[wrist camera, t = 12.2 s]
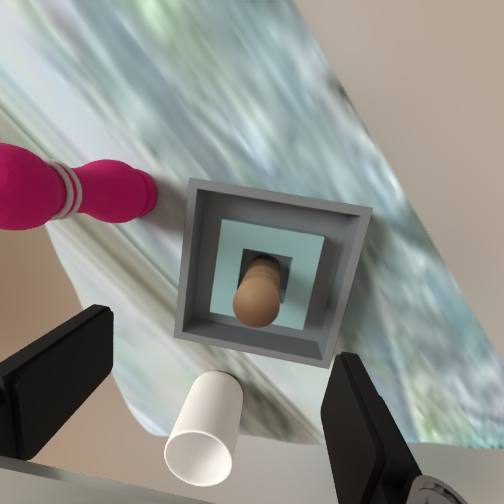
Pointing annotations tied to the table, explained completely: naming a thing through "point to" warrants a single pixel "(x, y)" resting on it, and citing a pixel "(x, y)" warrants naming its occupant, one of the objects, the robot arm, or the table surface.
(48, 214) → the pepper mill
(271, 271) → the peg
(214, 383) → the mug
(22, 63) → the table surface
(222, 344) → the tray
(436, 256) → the table surface
